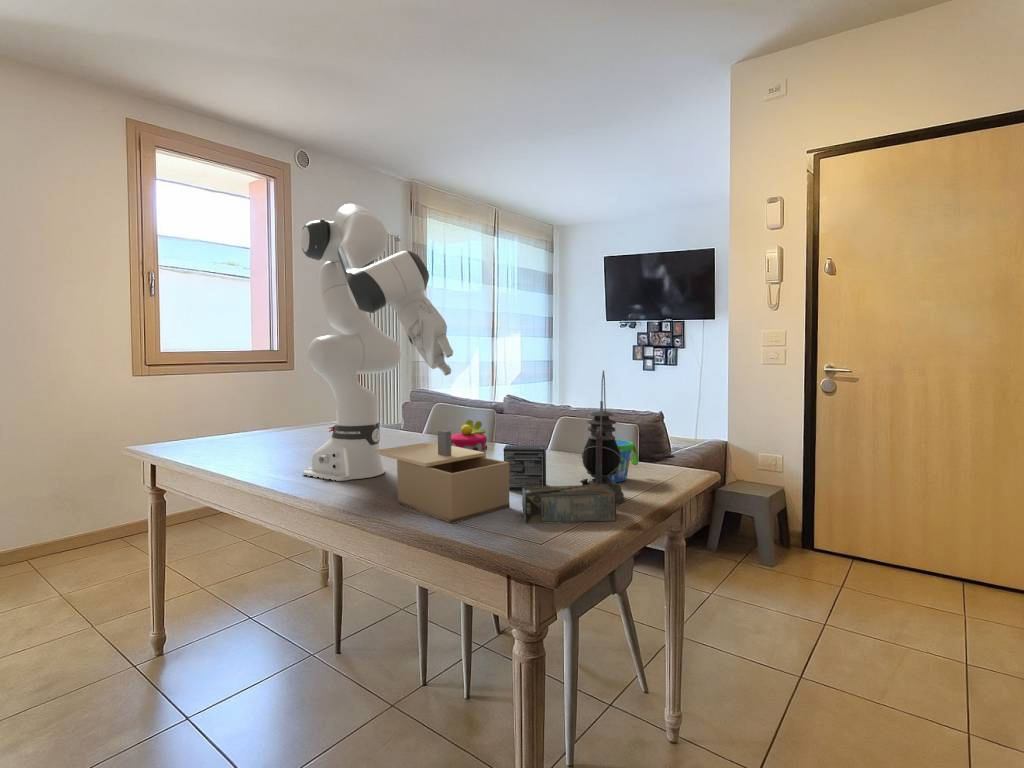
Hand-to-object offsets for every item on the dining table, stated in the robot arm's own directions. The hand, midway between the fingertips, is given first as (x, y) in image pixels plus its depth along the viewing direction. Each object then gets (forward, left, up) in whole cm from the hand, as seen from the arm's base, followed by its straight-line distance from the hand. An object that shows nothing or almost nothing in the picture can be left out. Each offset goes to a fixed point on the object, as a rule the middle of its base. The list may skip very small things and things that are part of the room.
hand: (449, 364), depth 127 cm
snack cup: (+35, +27, -32) cm, 54 cm away
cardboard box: (+4, -7, -31) cm, 32 cm away
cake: (-4, +21, -32) cm, 38 cm away
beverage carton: (+30, -8, -32) cm, 45 cm away
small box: (+15, +13, -32) cm, 37 cm away
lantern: (+35, +8, -32) cm, 48 cm away
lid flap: (-4, -3, -21) cm, 22 cm away
